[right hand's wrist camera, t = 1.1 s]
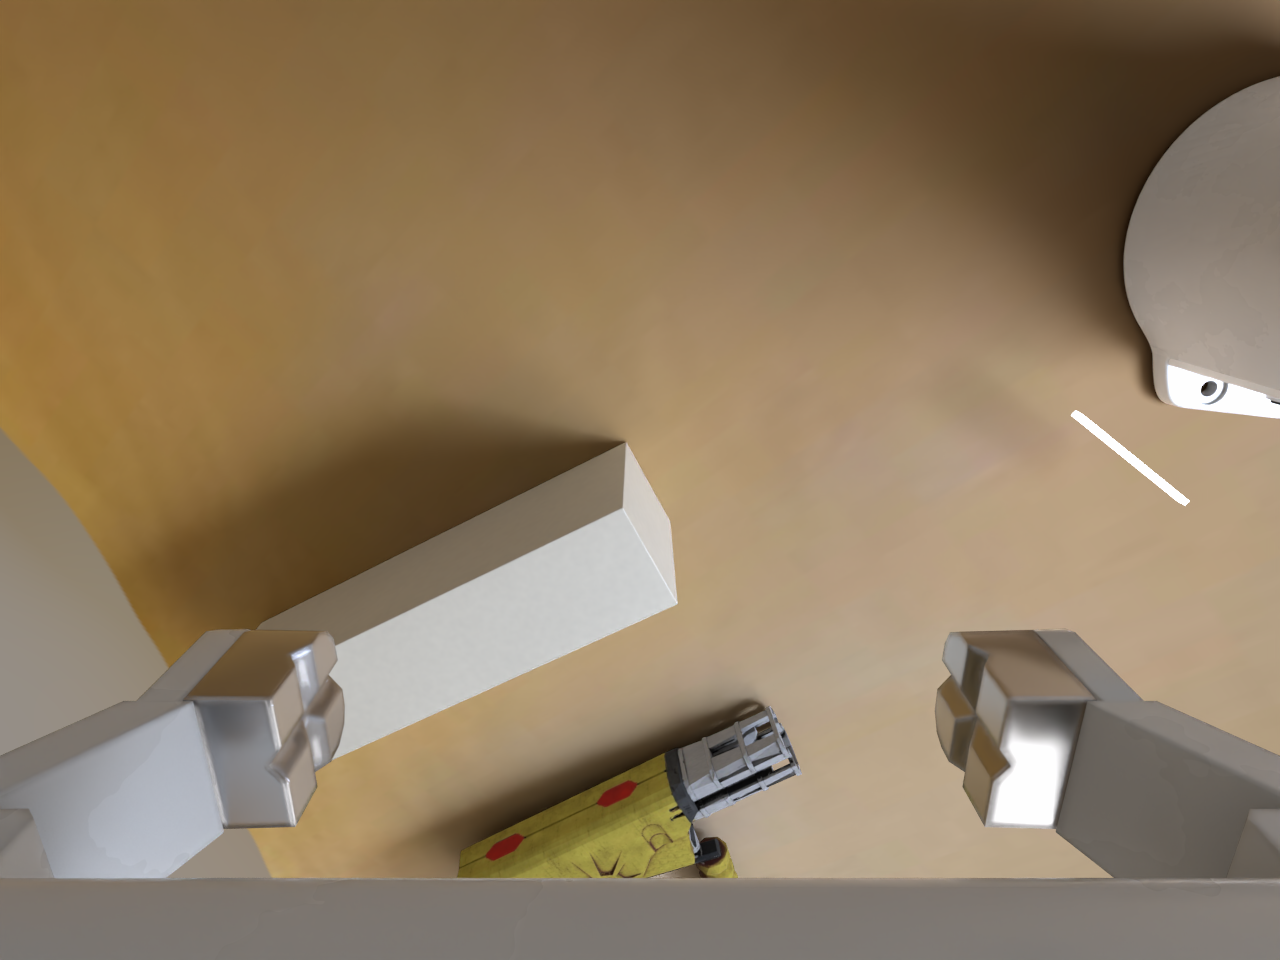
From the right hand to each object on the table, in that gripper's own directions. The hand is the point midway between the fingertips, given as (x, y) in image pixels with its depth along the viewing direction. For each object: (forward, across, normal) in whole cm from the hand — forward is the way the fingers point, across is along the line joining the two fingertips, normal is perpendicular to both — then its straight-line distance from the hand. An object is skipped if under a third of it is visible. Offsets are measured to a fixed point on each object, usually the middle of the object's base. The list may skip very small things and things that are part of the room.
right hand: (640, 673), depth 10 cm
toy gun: (+33, +1, -36) cm, 49 cm away
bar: (+33, -11, -15) cm, 38 cm away
